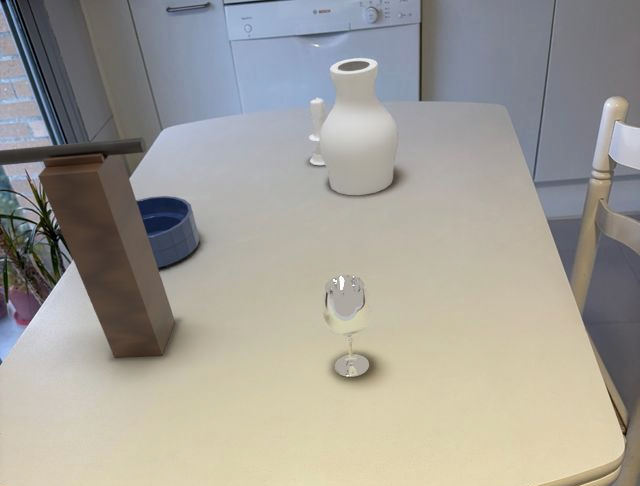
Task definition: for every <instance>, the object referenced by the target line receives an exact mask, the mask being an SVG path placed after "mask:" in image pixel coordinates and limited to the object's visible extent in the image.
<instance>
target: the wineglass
mask: <svg viewBox="0 0 640 486" xmlns="http://www.w3.org/2000/svg"><path fill="white" fill-rule="evenodd" d="M371 311H372V307H371V299H370V295H369V293H368V290H367V287H366V284H365V282H364V280H363V278H361V277H359V276H356V275H351V274H343V275H338V276H334V277H333V278H330V279H328V281H327V282H325V285H324V288H323V294H322V317H323V319H324V323H325V325H326V326H327V328H328V329H329V330H330V331H331V332H333V333H335V334H336V335H340V336H344V339H345V342H346V344H347V347H348V348H347V349H348V354H347V355H343V356H342V357H340V358H338V359H337V360H336V362H335V364H334V370H335V372H336V373H337V374H339V375H340V376H343V377H346V378H347V377H348V378H354V377H359V376H361V375H363V374H365V373H366V372H367V371H368V370H369V368H370V361H369V360H368V358H366V357H365V356H363V355H360V354H354V353H353V342H354V335H357V334H359V333H360V332H362V331H363V330H365V328H366V327H367V326H368V324H369V322H370V320H371V314H372V312H371Z"/></svg>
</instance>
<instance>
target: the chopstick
mask: <svg viewBox="0 0 640 486" xmlns="http://www.w3.org/2000/svg"><path fill="white" fill-rule="evenodd" d="M146 152H147V144H146V141H145V139H144V137H142V136H140V137H130V138H129V137H128V138H119V139H118V138H117V139H108V140H106V139H105V140H98V141H97V140H96V141H86V142H75V143H64V144H54V145H53V144H52V145H43V146H42V145H41V146H32V147H31V146H30V147H22V148H21V147H20V148H11V149H0V166H9V165H20V164H21V165H22V164H32V163H44V162H43V160H44V159H45V158H56V157H67V156H79V155H90V154H103V156H111V155H122V156H123V155H132V154H144V153H146Z"/></svg>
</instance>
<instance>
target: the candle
mask: <svg viewBox="0 0 640 486" xmlns="http://www.w3.org/2000/svg"><path fill="white" fill-rule="evenodd" d="M309 106H310V107H309V108H310V111H309V112H310V115H311V121H312V129H313V133H312V134H310V135H308V136H309V137H308V139H309V140H310V141H312V142H314V143H316V146H315V150H314V151H313V153H312V157H311V158H310V160H309V163H310V164H311V165H314V166H325V163H324V160H323V157H322V154H321V150H320V144H319V136H320V131H321V128H322V126H323V123H324V122H325V120H326V118H327V112H326V106H325V101H324V99H322V98H320V97H316V98H315V99H312V100H310V103H309Z"/></svg>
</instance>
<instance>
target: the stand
mask: <svg viewBox="0 0 640 486" xmlns="http://www.w3.org/2000/svg"><path fill="white" fill-rule="evenodd" d="M42 163H43V165H44V169H43V170H42V171H41V172H40V173H39V174H38V176H37V178H38V179H39V182H40V184H41V187H42V189H43V192H44V193H45V196H46V198H47V201H48V203H49V206H50V208H51V210H52V213H53V215H54V218H55V220H56V222H57V224H58V227H59V229H60V232H61V234H62V236H63V239H64V241H65V245H66V246H67V248H68V250H69V253H70V255H71V258H72V260H73V262H74V265H75V268H76V269H77V272H78V274H79V277H80V279H81V282H82V284H83V286H84V289H85V291H86V293H87V296H88V298H89V299H90V303H91V305H92V308H93V310H94V313H95V314H96V317H97V319H98V322H99V324H100V327H101V329H102V331H103V334H104V336H105V339H106V341H107V343H108V346H109V348H110V350H111V352H112V355H113V358H132V357H133V358H134V357H135V358H136V357H156V356H163V354H164V351H165V350H166V346H167V344H168V342H169V338H170V337H171V334H172V331H173V328H174V327H175V326H174V325H175V323H176V320H175V317H174V314H173V311H172V307H171V304H170V301H169V298H168V295H167V291H166V289H165V286H164V283H163V280H162V277H161V273H160V271H159V267H157V264H156V261H155V258H154V254H153V251H152V248H151V245H150V242H149V239H148V236H147V233H146V230H145V226H144V223H143V220H142V217H141V214H140V211H139V208H138V205H137V202H136V200H137V198H136V196H135V193H134V189H133V186H132V184H131V179H130V177H129V174H128V171H127V168H126V165H125V161H124V158H123V154H122V155H111V156H103V154H90V155H79V156H67V157H56V158H45V159H44V160H43V162H42Z"/></svg>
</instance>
